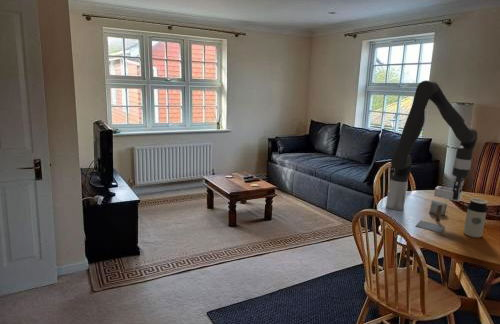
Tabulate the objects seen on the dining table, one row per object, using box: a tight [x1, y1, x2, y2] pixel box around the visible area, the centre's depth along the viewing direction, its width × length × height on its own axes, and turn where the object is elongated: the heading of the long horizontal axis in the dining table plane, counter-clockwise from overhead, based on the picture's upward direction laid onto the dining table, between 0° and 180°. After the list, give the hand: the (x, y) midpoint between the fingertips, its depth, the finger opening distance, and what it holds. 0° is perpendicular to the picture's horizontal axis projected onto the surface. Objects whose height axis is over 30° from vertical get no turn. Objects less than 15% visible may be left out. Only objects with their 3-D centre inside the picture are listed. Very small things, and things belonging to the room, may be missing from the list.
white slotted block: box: [433, 185, 463, 202], centre depth 192 cm, size 12×6×4 cm, turn 52°
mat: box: [415, 219, 446, 234], centre depth 189 cm, size 12×10×1 cm
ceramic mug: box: [429, 199, 448, 216], centre depth 209 cm, size 11×8×8 cm
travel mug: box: [463, 197, 489, 238], centre depth 179 cm, size 8×8×18 cm
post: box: [435, 205, 442, 222], centre depth 197 cm, size 2×2×9 cm
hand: (456, 197), depth 190 cm, fingers closed on white slotted block, 5 cm apart
